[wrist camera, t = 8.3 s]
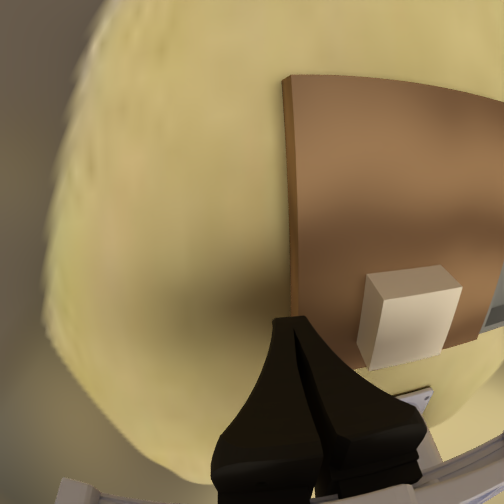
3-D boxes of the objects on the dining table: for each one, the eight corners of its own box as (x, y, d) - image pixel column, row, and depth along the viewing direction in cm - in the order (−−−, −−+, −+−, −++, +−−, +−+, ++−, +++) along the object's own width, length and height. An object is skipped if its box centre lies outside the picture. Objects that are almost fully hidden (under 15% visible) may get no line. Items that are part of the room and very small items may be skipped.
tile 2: (423, 330, 15) (439, 354, 13) (356, 342, 15) (368, 371, 13) (440, 264, 13) (462, 286, 11) (366, 274, 13) (383, 300, 11)
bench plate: (459, 317, 18) (476, 339, 15) (290, 347, 18) (296, 377, 15) (494, 104, 12) (524, 108, 9) (281, 80, 11) (290, 74, 9)
